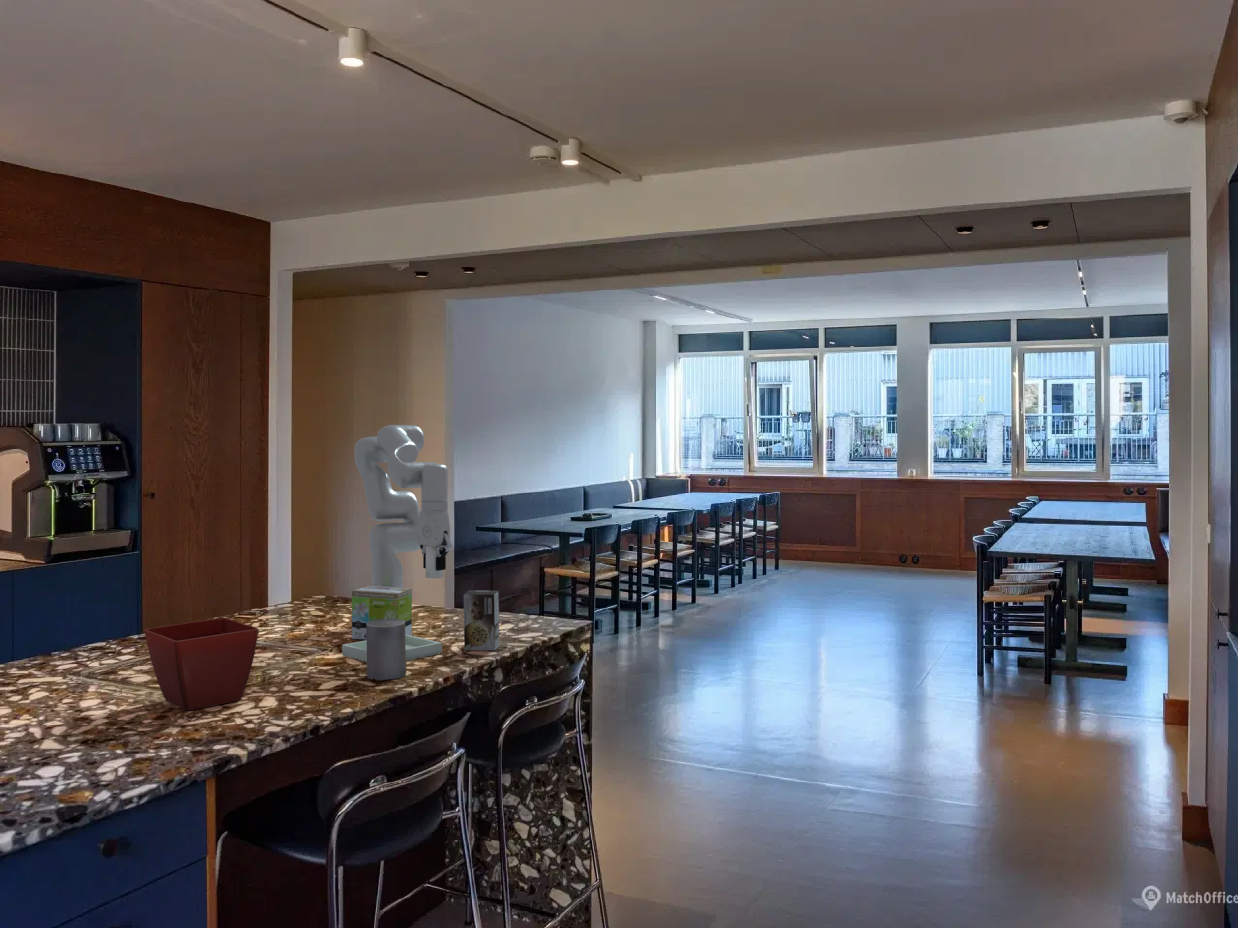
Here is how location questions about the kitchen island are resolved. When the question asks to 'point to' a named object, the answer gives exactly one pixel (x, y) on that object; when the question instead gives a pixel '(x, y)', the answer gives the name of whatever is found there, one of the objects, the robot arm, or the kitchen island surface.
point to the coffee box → (481, 620)
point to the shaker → (432, 563)
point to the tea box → (380, 607)
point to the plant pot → (202, 661)
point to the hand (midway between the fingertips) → (434, 568)
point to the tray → (413, 644)
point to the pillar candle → (386, 649)
